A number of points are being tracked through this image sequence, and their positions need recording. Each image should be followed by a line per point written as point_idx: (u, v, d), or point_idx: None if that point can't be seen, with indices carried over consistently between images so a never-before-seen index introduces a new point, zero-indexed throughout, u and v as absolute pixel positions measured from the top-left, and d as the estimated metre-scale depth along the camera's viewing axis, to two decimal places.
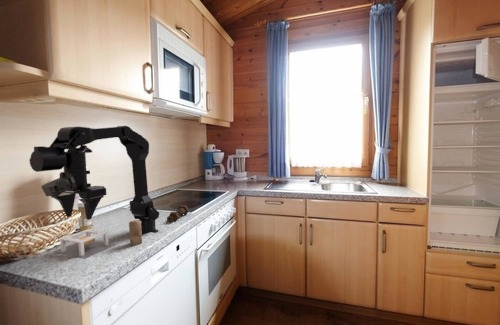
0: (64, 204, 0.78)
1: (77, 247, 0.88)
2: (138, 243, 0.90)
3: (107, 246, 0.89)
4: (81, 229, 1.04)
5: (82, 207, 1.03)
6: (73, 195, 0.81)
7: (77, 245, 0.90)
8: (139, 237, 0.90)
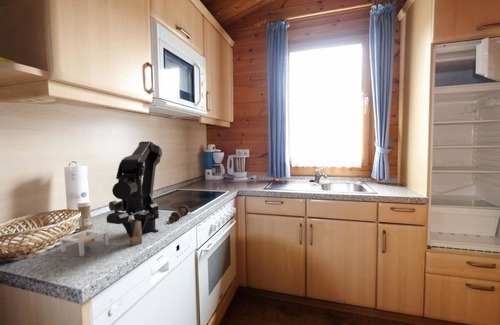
0: None
1: (77, 247, 0.88)
2: (138, 243, 0.90)
3: (107, 246, 0.89)
4: (81, 229, 1.04)
5: (82, 207, 1.03)
6: (144, 216, 0.92)
7: (77, 245, 0.90)
8: (139, 237, 0.90)
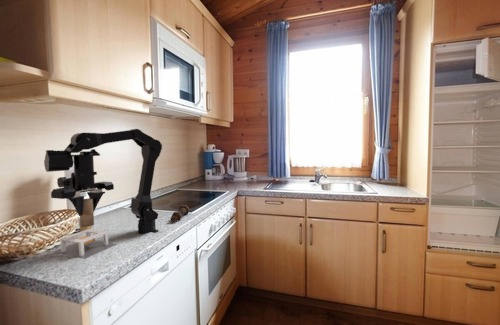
0: None
1: (77, 247, 0.88)
2: (88, 222, 0.86)
3: (107, 246, 0.89)
4: (81, 229, 1.04)
5: None
6: (96, 194, 0.88)
7: (77, 245, 0.90)
8: (89, 215, 0.86)
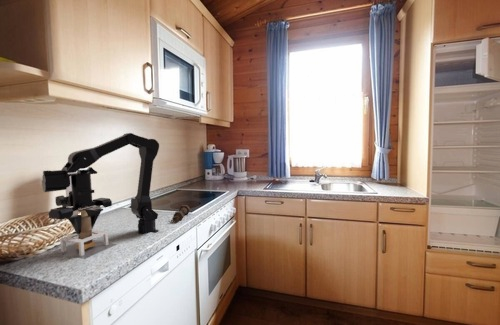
0: None
1: None
2: None
3: (107, 246, 0.89)
4: None
5: None
6: (94, 212, 0.89)
7: None
8: (87, 233, 0.86)
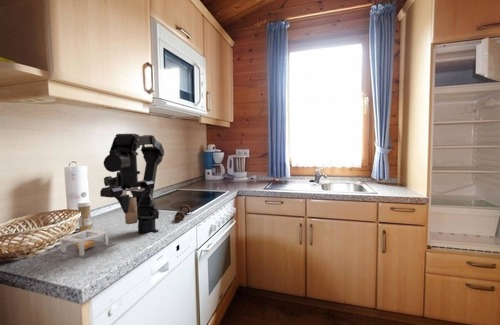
0: None
1: None
2: (133, 219, 0.89)
3: (107, 246, 0.89)
4: (81, 229, 1.04)
5: (82, 207, 1.03)
6: (140, 193, 0.91)
7: None
8: (134, 213, 0.89)
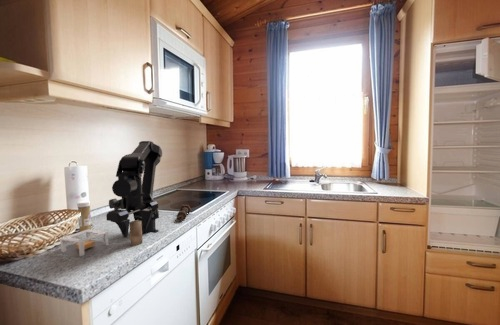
0: (142, 218, 0.95)
1: None
2: (138, 243, 0.90)
3: (107, 246, 0.89)
4: (81, 229, 1.04)
5: (82, 207, 1.03)
6: (149, 213, 0.94)
7: None
8: (139, 237, 0.90)
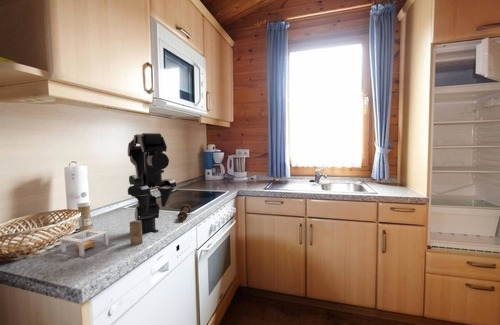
0: (161, 195, 0.96)
1: None
2: (138, 243, 0.90)
3: (107, 246, 0.89)
4: (81, 229, 1.04)
5: (82, 207, 1.03)
6: (168, 190, 0.95)
7: None
8: (139, 237, 0.90)
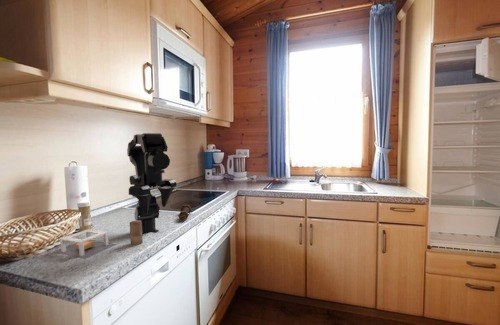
0: (161, 195, 0.96)
1: None
2: (138, 243, 0.90)
3: (107, 246, 0.89)
4: (81, 229, 1.04)
5: (82, 207, 1.03)
6: (168, 190, 0.95)
7: None
8: (139, 237, 0.90)
